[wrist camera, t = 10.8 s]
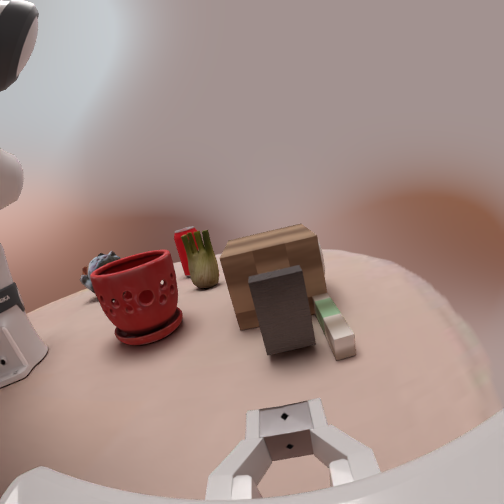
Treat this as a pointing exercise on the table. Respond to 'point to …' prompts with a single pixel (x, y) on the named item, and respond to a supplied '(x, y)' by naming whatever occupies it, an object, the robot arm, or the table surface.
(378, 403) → the table surface
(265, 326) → the gray orange banded block
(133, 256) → the plant pot
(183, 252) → the beverage can
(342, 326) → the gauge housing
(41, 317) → the table surface
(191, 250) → the fennel bulb
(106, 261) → the lucky cat figurine
